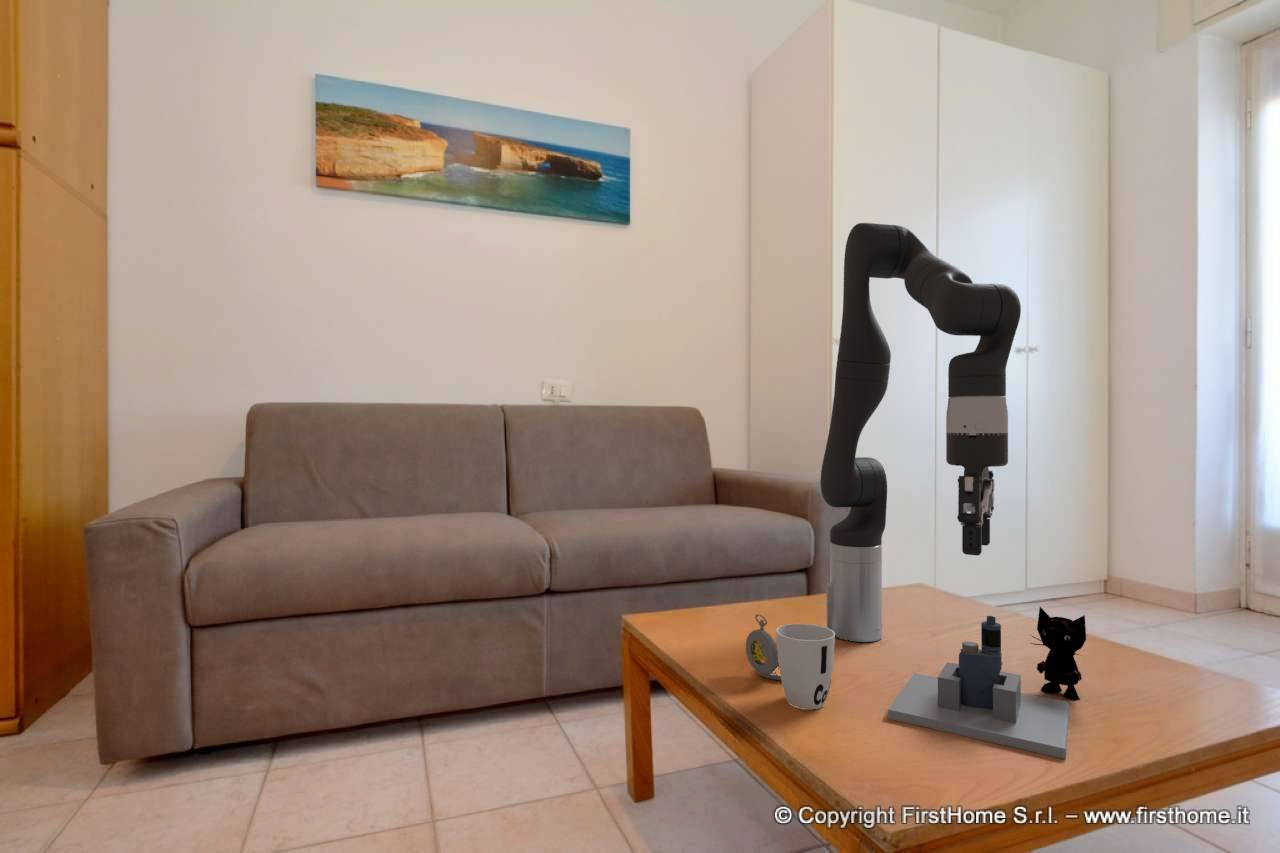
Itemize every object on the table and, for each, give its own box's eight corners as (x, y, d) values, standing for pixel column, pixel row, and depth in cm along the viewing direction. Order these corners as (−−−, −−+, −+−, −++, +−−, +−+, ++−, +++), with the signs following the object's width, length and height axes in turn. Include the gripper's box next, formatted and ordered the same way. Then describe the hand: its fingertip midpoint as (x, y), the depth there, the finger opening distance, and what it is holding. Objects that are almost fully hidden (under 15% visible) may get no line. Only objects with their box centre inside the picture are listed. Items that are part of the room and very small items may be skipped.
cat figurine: (1025, 690, 98) (1025, 609, 99) (1045, 680, 103) (1045, 601, 103) (1080, 706, 93) (1079, 620, 93) (1098, 694, 97) (1098, 611, 97)
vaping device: (1004, 711, 89) (1003, 620, 89) (960, 706, 90) (960, 617, 90) (999, 703, 91) (999, 615, 91) (957, 698, 93) (957, 612, 93)
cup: (825, 719, 89) (825, 644, 89) (767, 706, 93) (767, 634, 93) (842, 698, 96) (842, 628, 96) (787, 687, 100) (787, 620, 100)
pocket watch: (804, 670, 107) (803, 608, 107) (792, 689, 99) (792, 622, 99) (754, 663, 110) (753, 602, 111) (739, 680, 103) (739, 615, 103)
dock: (887, 718, 89) (887, 679, 89) (914, 680, 103) (913, 646, 103) (1065, 759, 78) (1065, 714, 78) (1069, 711, 91) (1068, 672, 91)
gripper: (955, 430, 99) (955, 539, 99) (936, 430, 87) (936, 555, 87) (1013, 430, 95) (1013, 544, 95) (1001, 431, 83) (1001, 561, 83)
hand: (976, 549), depth 91 cm, fingers open, 8 cm apart
